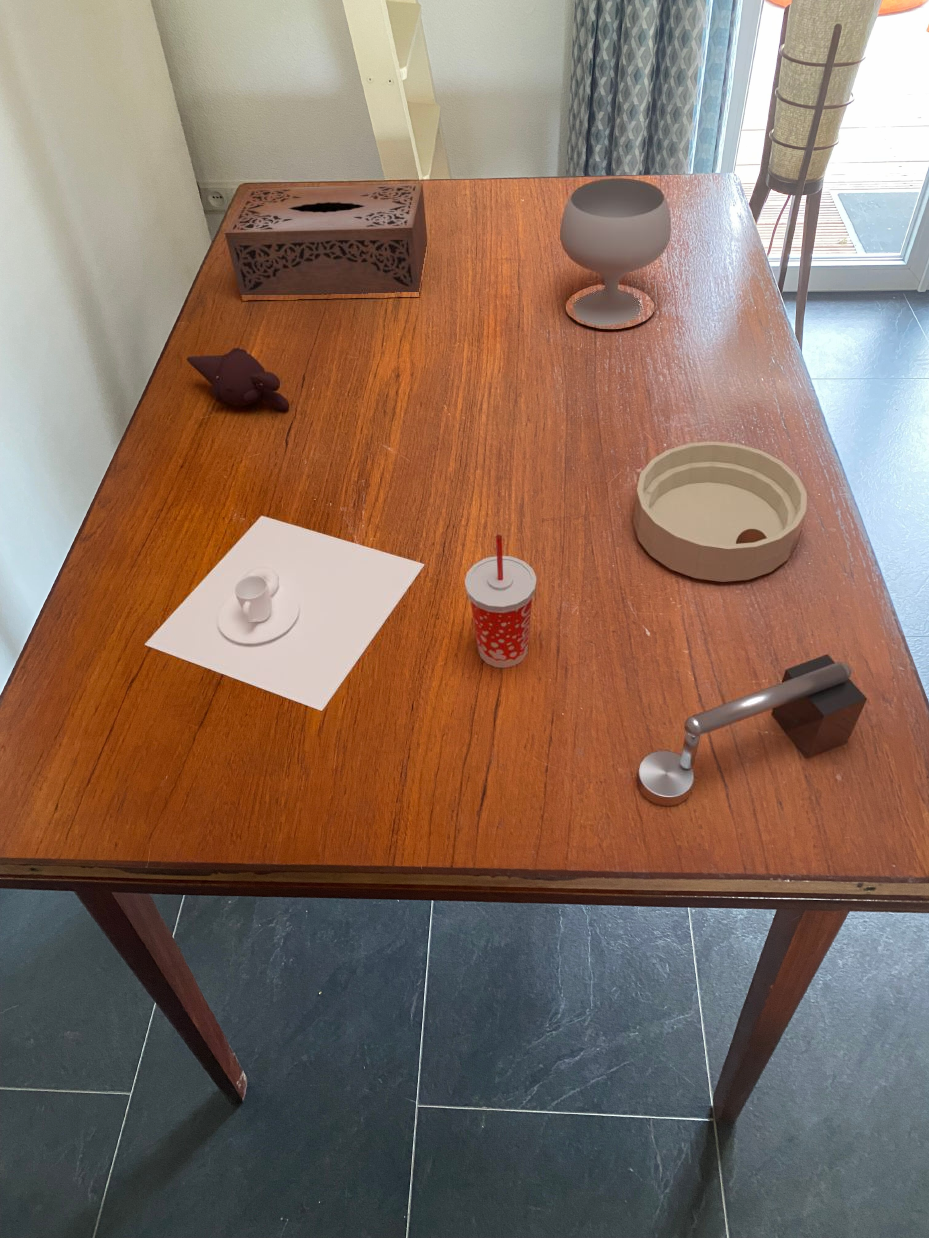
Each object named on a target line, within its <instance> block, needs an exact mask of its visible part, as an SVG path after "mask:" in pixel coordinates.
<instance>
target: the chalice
mask: <svg viewBox="0 0 929 1238" xmlns="http://www.w3.org/2000/svg"><path fill="white" fill-rule="evenodd" d="M562 213H563V214H562V218H561V222H560V228H559V240H560V243H561V246H562V249H563V251H564V253H565V254H566V256H568V258H569V259H570V260H571V261H573V262H574V263H575V264H576V265H578V266H580V267H582V268H584V269H586V270H589V271H590V272H591V271H592V272H594V273H597V274H599V276H601V277H602V280H603V282H604V283H603V284H605V287H604V289H602V290H597V291H595V292H594V291H593V292H594V293H593V292H592V293H589V294H587V295H585V296H583V297H580V299H579V298H578V299H579V300H577V299H576V300H577V301H576V302H575V301H574V302H575V303H573V304H574V306H573V308H574V310H575V311H574V310H573V312H575V313H574V314H577V315H575V316H577V317H579V318H578V320H582V321H585V322H587V323H590V324H594V325H596V326H597V325H598V326H599V327H600V326H604V327H605V326H607V325H608V326H611V325H613V324H616V325H618V324H621V323H623V322H625V323H627V322H626V321H628V322H630V321H629V320H632V319H636V317H637V316H640V315H641V314H640V315H638V314H639V312H640V311H641V310H640V307H642V306H640V305H641V304H640V302H639V301H638V300H639V299H640V298H639V299H638V298H635V297H636V296H635V297H634V295H633V294H631V293H628V292H625V291H621V290H619V289H618V284H620V281H621V279H622V278H623V277H624V276H625V275H626V274H629V273H633V272H635V271H639V270H642V269H644V268H646V267H648V266H649V265H651V264H653V263H654V262H655V261H657V260H658V259H659V258H660V257H661V256H662V255H663V254H664V252H665V250H667V247H668V245H669V243H670V241H671V234H672V223H671V221H672V220H671V212H670V207H669V203H668V201H667V198H666V196H665V194H664V192H663V191H662V190H661V189H660V188H659V187H657V186H656V185H654V184H652V183H649V182H647V181H644V180H639V179H634V178H624V177H623V178H621V177H619V178H617V177H615V178H613V177H612V178H603V179H597V180H593V181H590V182H588V183H585V184H582V185H580V186H579V187H577V188H576V189H574V190H573V192H572V194H571V195H570V196H569V198H568V200H567V202H566V205H565V207H564V209H563V212H562ZM575 304H576V305H575ZM639 304H640V305H639ZM637 309H638V310H637ZM640 313H641V312H640ZM634 316H636V317H634ZM576 319H577V318H576ZM582 321H581V322H582ZM583 323H584V322H583ZM623 324H624V323H623ZM613 326H615V325H613Z"/></svg>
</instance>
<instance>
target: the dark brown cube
mask: <svg viewBox="0 0 929 1238" xmlns="http://www.w3.org/2000/svg"><path fill="white" fill-rule="evenodd" d="M834 663H836V662H835V660H833V659H832V658H831V656H830V655H829V654H824V655H822V656H819V657H816V658H813V659H810V660H808V661H805V662H801V663H799V664H797V665H794V666H792V667H788V668H786V669H785V671H784V673H783V676H782V679H781V682H780V683H783V682H785V681H788V680H791V679H793V678H796V677H799V676H802V675H804V674H807V673H810V672H812V671H815V670H818V669H821V668H823V667H826V666H829V665H831V664H834ZM867 700H868V698H867V697H866V696H865V694H863V692H862V691H861V690H860V689H859V688H858V687H857V685H856V684H855V683H854V682H853V680H851V679H850V678H849V679H848V680H847V681H845V682H843V683H840V684H837V685H834V686H832V687H829V688H826V689H824V690H821V691H818V692H816V693H813V694H810V695H808V696H805V697H802V698H800V699H797V700H794V701H792V702H789V703H786V704H784V705H781V706H778V707H776V708H773V709H771V713H770V714H771V716H772V717H773V718H774V720H775V721H776V722H777V723H778V724H779V726H780V727H781V728H782V729H783V730H784V732H785V733H786V735H787V736H788V737H789V739H790V740H791V741H792V743H794V745H795V746H796V747H797V749H798V751H800V753H801V754H802V755H803V756H804V757H805V759H809V758H813V757H815V756H818V755H820V754H822V753H826V752H827V751H830V750H832V749H835V748H838V747H840V746H843V745H845V744H847V743H849V741H850V738H851V736H852V734H853V731H854V729H855V727H856V725H857V723H858V720H859V718H860V716H861V714H862V711H863V709H864V707H865V705H866V703H867Z"/></svg>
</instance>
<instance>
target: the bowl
mask: <svg viewBox="0 0 929 1238" xmlns="http://www.w3.org/2000/svg"><path fill="white" fill-rule="evenodd" d="M807 511H808V493H807V491H806V489H805V487H804V484H803V483H802V479H800V477H799V475H798V474H796V473H795V472H794V471H793V470H792V469H791V468H790V466H788V465H787V464H786V463H785V462H784V461H782V460H780V459H778V458H777V457H774V455H773V456H772V454H769V453H768V452H765V450H764V451H763V450H761V449H757V448H754V447H751V446H747V445H744V444H740V443H735V442H734V443H733V442H726V441H725V442H724V441H715V440H711V441H699V442H689V443H685V444H683V445H679V446H675V447H673V448H670V449H666V450H665V451H663V452H661V453H660V454H659V455H657V456H655V457H653V458H652V459H651V460H649V462H648V463H647V465H646V466H644V468H643V470H642V471H641V472H640V474H639V478H638V481H637V487H636V494H635V503H634V511H633V521H632V524H633V527H634V530H635V534H636V538H637V541H638V542H639V543H640V544H641V545H642V547H643V549H645V551H646V552H647V553H648V555H649V556H650V557H652V558H653V559H655V560H656V561H658V562H659V563H660V564H662V565H663V566H664V567H667V568H668V569H669V570H672V571H674V572H677V573H680V574H682V575H685V576H688V577H691V578H693V579H699V580H707V581H713V582H719V583H720V582H721V583H725V582H736V581H737V582H738V581H748V580H751V579H755V578H759V577H760V576H763V575H767V574H770V573H772V572H773V571H774V570H776V569H778V567H780V566H781V565H783V564H784V563H785V562H786V561H788V560H789V559H790V557H791V555H792V554H793V551H794V549H795V548H796V546H797V545H798V541H799V537H800V534H801V531H802V528H803V524H804V521H805V517H806V514H807ZM748 529H757V530H760V531H761V532H763V533H764V534H765V536H766V537H767V538H766V539H763V540H760V541H757V542H754V543H741V544H736V540H737V538H738V536H739V535H740V534H741V533H742V532H743V531H745V530H748Z"/></svg>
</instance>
